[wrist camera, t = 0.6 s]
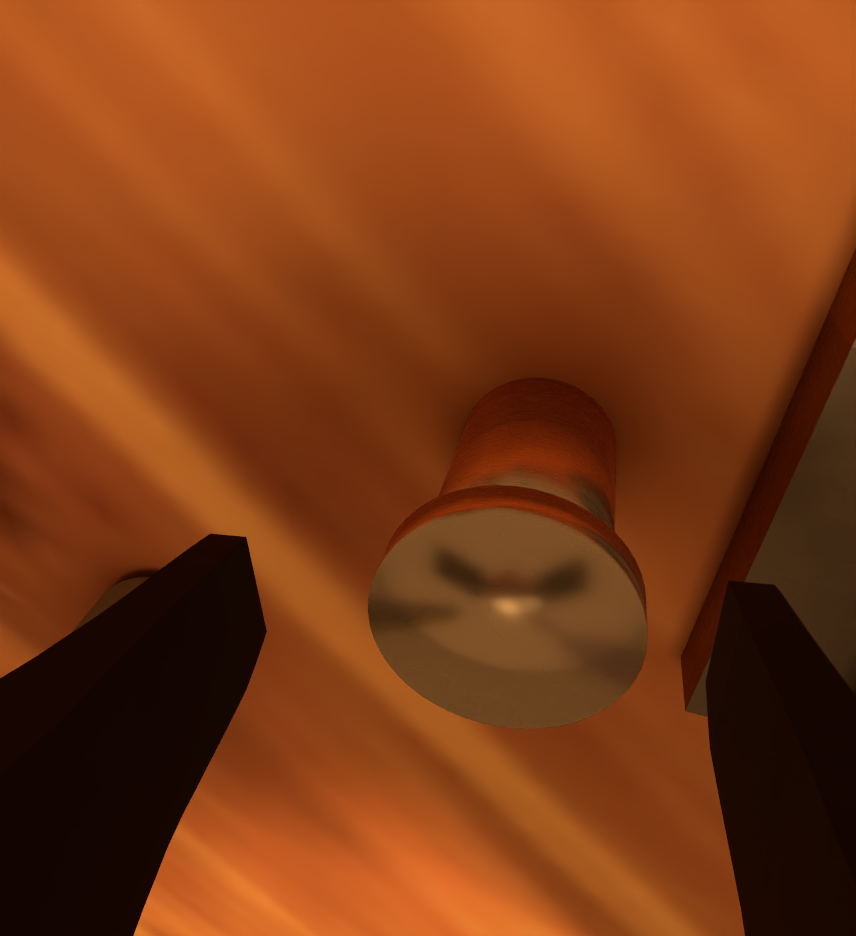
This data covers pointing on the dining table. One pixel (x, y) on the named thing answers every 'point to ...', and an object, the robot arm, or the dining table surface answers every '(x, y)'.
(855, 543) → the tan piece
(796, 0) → the dining table surface
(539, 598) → the pin
